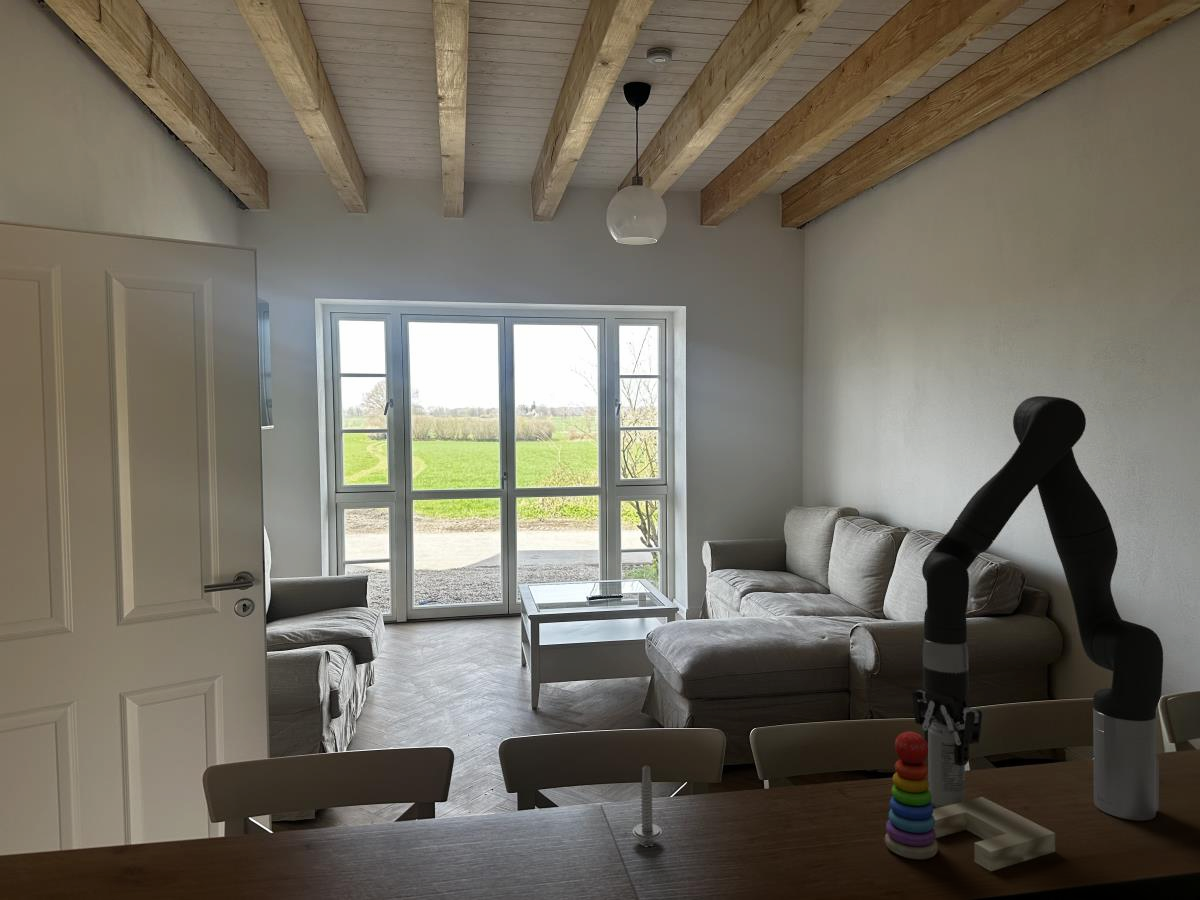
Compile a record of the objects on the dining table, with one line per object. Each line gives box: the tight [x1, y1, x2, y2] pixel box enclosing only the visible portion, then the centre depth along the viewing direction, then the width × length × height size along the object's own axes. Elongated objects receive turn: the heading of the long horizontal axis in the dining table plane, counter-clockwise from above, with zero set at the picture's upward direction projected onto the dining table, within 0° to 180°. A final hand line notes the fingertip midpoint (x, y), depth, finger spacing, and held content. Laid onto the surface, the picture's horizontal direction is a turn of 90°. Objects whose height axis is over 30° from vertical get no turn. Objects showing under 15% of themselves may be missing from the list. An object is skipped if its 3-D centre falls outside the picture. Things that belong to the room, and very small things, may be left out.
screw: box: [632, 765, 663, 846], centre depth 131 cm, size 13×5×5 cm
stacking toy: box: [884, 730, 939, 860], centre depth 128 cm, size 8×8×19 cm
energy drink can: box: [927, 719, 966, 809], centre depth 143 cm, size 6×6×15 cm
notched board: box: [932, 796, 1056, 872], centre depth 130 cm, size 14×14×3 cm
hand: (946, 757), depth 143 cm, fingers closed on energy drink can, 6 cm apart
